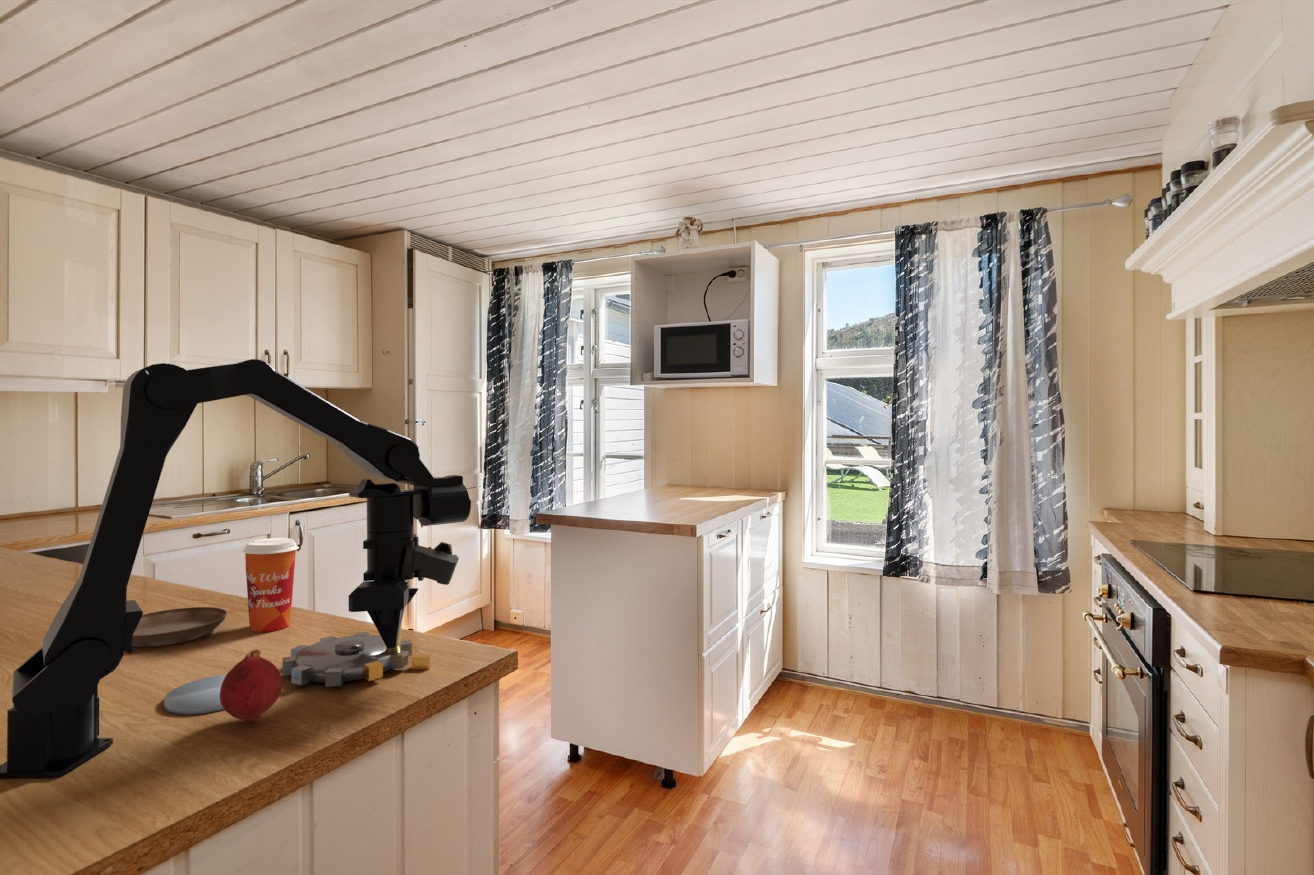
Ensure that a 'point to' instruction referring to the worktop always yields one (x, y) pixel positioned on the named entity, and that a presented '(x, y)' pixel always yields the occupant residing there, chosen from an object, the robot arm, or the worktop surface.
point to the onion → (250, 687)
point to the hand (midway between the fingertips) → (391, 647)
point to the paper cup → (270, 582)
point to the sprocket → (345, 659)
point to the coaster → (196, 696)
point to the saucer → (176, 625)
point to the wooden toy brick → (422, 661)
